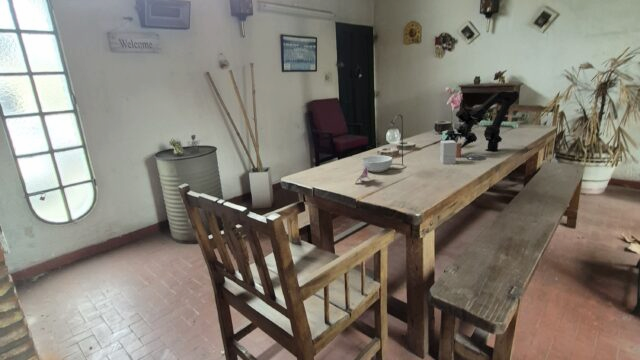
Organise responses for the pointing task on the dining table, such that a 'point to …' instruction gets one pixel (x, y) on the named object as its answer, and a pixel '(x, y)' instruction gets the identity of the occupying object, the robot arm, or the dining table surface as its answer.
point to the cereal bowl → (377, 163)
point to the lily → (364, 174)
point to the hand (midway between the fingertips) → (454, 146)
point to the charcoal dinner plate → (475, 157)
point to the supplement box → (448, 152)
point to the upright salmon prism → (458, 149)
